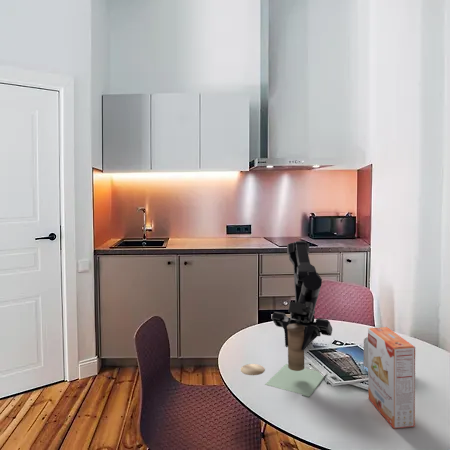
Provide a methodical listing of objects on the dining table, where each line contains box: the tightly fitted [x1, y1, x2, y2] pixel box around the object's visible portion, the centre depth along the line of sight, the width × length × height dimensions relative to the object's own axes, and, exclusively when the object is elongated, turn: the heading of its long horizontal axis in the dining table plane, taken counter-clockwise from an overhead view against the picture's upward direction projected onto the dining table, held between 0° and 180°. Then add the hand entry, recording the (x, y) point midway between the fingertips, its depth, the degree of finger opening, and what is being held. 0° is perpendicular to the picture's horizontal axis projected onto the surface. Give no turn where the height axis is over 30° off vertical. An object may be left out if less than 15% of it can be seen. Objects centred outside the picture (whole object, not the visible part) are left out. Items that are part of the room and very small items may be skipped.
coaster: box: [240, 363, 266, 376], centre depth 129 cm, size 8×8×1 cm
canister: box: [287, 324, 306, 371], centre depth 121 cm, size 5×5×13 cm
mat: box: [264, 363, 325, 398], centre depth 122 cm, size 16×14×1 cm
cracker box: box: [367, 326, 416, 430], centre depth 102 cm, size 14×6×21 cm, turn 5°
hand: (294, 348), depth 120 cm, fingers closed on canister, 5 cm apart
